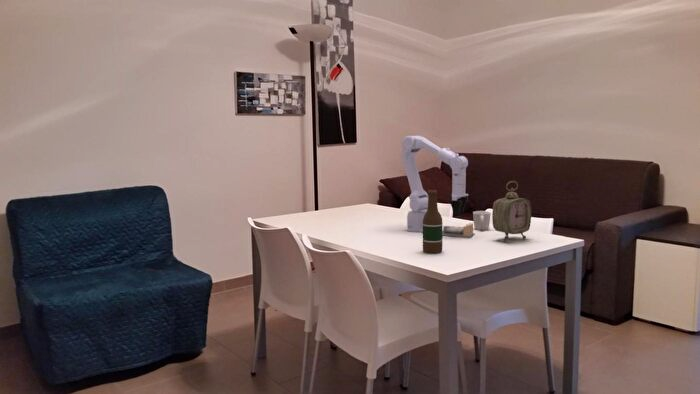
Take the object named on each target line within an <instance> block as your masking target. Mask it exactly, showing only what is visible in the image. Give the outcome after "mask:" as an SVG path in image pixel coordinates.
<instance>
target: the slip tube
mask: <svg viewBox="0 0 700 394" xmlns="http://www.w3.org/2000/svg"><path fill="white" fill-rule="evenodd" d="M463 229H464V226H455V225H454V226H453V225H443V226H442V231H443V232H444V233H458V234H463Z"/></svg>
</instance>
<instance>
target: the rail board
mask: <svg viewBox="0 0 700 394" xmlns="http://www.w3.org/2000/svg"><path fill="white" fill-rule="evenodd" d="M463 227H464V229H463V234H458V233H444V232H443V230H442V237H449V238H464V239H465V238H466V239H471V238H473V236H475V235H476V234H475V233H474V222H473V223H472V222H471V223H470V222H469V223H468V224H465V225H464V226H463Z"/></svg>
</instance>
